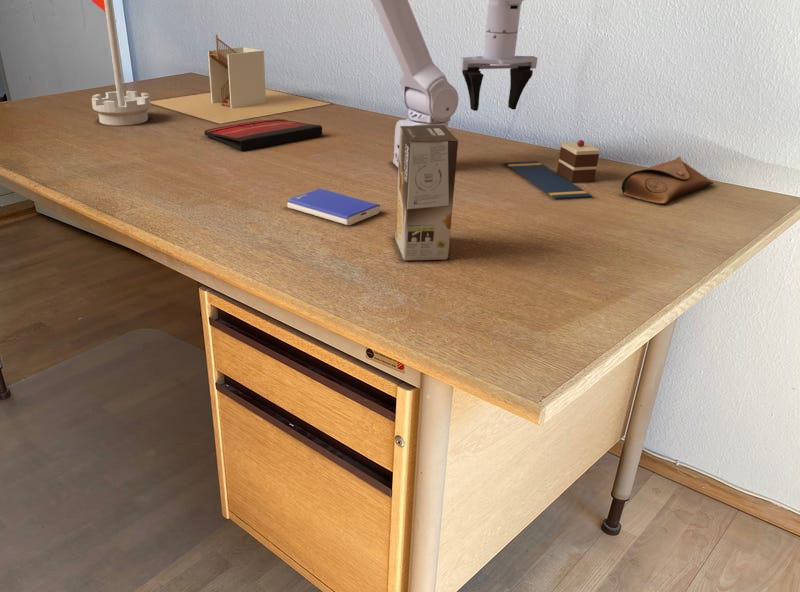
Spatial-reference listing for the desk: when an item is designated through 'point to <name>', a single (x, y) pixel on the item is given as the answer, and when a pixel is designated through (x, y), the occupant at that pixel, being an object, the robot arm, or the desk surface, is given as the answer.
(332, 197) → the hard drive
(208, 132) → the binder
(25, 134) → the desk surface
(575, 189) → the cloth
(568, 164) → the cake slice
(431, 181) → the coffee box
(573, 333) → the desk surface
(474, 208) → the desk surface
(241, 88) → the staircase
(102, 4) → the flag stand
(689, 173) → the sunglasses case
